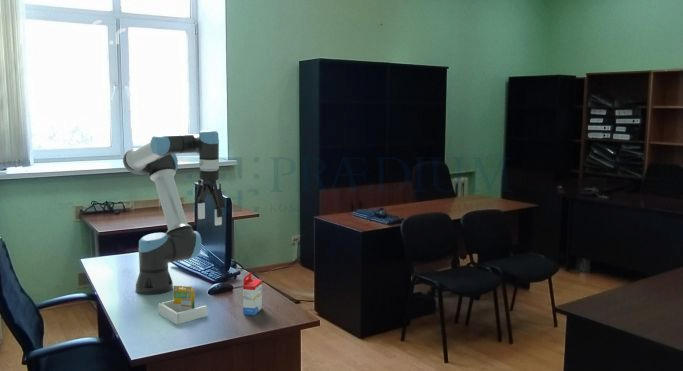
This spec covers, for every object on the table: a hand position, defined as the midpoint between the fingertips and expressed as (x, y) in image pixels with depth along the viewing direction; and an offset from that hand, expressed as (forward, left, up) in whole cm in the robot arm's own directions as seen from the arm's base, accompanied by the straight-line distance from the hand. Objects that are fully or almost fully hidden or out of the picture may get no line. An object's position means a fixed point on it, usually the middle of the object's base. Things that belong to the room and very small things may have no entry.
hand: (209, 221), depth 234 cm
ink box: (+23, +5, -32) cm, 40 cm away
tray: (+9, -17, -32) cm, 38 cm away
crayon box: (+9, -17, -32) cm, 38 cm away
